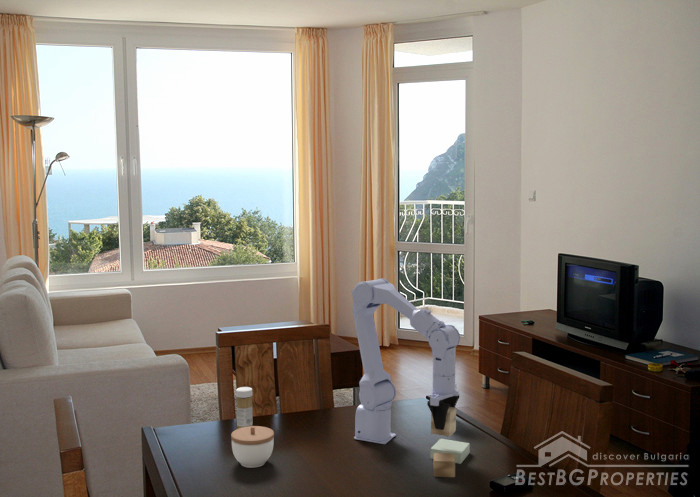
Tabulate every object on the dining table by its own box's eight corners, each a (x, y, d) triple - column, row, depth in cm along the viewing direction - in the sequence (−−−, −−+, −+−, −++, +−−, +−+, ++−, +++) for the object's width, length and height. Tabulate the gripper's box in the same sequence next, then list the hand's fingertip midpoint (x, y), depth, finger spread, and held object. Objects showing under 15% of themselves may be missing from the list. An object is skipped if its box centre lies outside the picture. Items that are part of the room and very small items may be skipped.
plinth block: (430, 459, 177) (430, 448, 177) (440, 449, 184) (440, 438, 184) (460, 465, 173) (460, 453, 173) (469, 454, 181) (469, 443, 180)
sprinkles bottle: (248, 431, 196) (247, 385, 195) (255, 436, 192) (255, 389, 191) (233, 434, 193) (233, 388, 192) (240, 439, 190) (240, 392, 188)
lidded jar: (239, 474, 166) (238, 437, 166) (225, 459, 176) (225, 423, 175) (280, 466, 171) (280, 430, 170) (265, 452, 181) (265, 417, 180)
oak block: (434, 477, 166) (434, 460, 165) (433, 468, 171) (433, 453, 170) (454, 477, 165) (455, 461, 165) (453, 469, 170) (453, 453, 170)
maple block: (430, 433, 176) (431, 410, 175) (437, 427, 180) (437, 405, 180) (449, 436, 173) (450, 413, 173) (455, 430, 178) (456, 407, 177)
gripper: (449, 382, 167) (449, 437, 168) (467, 368, 180) (466, 419, 181) (422, 379, 170) (421, 432, 172) (442, 365, 183) (441, 415, 184)
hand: (443, 425), depth 177 cm, fingers closed on maple block, 5 cm apart
